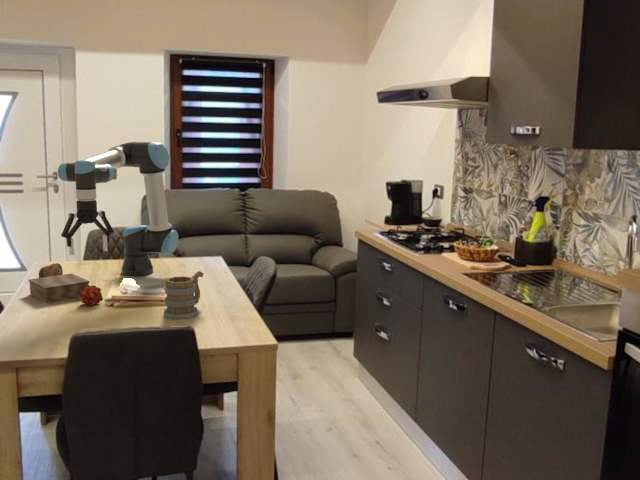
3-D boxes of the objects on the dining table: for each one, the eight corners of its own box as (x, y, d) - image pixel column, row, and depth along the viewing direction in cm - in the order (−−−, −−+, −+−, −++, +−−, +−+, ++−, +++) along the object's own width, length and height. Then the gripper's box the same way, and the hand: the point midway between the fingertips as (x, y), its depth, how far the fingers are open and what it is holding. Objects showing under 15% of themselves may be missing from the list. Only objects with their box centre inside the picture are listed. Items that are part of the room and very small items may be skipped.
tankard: (181, 321, 245) (180, 282, 242) (157, 315, 252) (155, 277, 249) (216, 308, 262) (216, 272, 259) (193, 303, 268) (192, 268, 266)
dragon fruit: (94, 303, 272) (93, 316, 261) (75, 293, 268) (74, 305, 257) (105, 287, 271) (106, 299, 260) (87, 277, 267) (87, 288, 257)
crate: (72, 288, 291) (71, 273, 290) (90, 297, 277) (89, 281, 276) (29, 295, 279) (28, 279, 277) (45, 304, 265) (44, 288, 264)
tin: (44, 286, 292) (43, 268, 291) (37, 286, 293) (36, 268, 291) (63, 279, 307) (62, 261, 305) (57, 278, 307) (56, 261, 306)
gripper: (112, 197, 268) (114, 247, 272) (50, 200, 252) (53, 254, 256) (120, 198, 263) (122, 250, 266) (57, 202, 246) (60, 257, 250)
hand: (88, 252), depth 261 cm, fingers open, 13 cm apart
